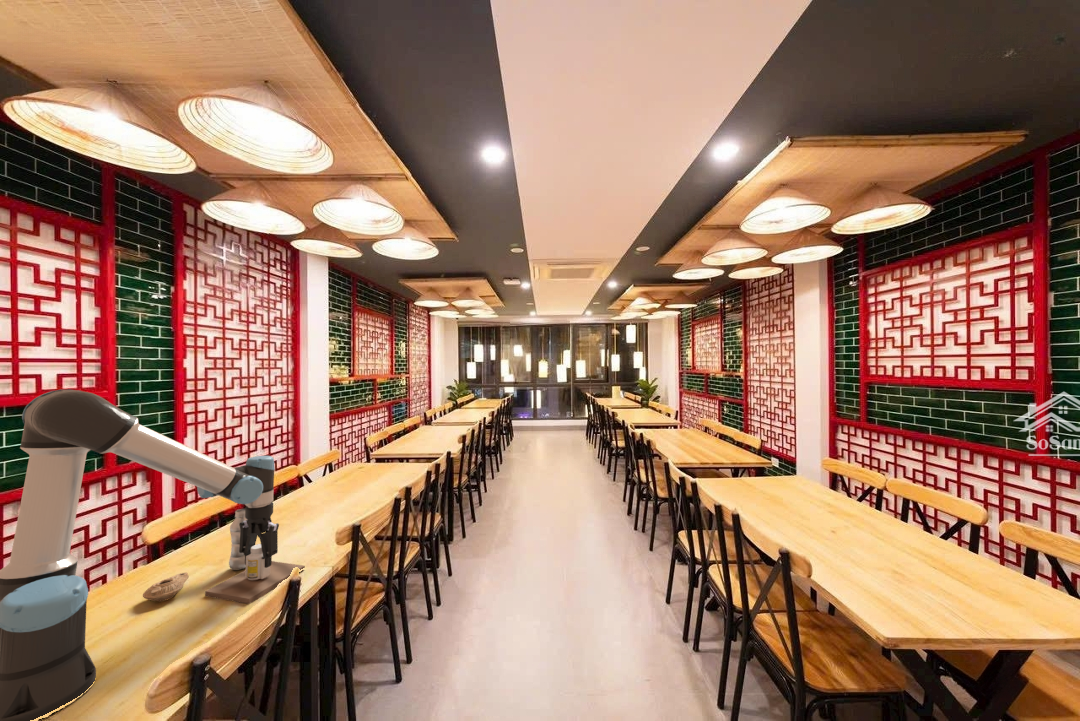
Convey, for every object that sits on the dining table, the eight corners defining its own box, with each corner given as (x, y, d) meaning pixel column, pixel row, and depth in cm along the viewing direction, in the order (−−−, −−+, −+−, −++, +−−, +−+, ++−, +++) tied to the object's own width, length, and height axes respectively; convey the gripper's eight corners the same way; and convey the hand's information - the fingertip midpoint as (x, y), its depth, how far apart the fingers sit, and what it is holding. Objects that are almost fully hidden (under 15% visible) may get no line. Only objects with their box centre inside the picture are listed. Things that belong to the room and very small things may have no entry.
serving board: (249, 603, 114) (249, 598, 114) (204, 596, 118) (205, 591, 118) (304, 570, 134) (304, 565, 134) (265, 564, 137) (265, 560, 137)
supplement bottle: (266, 570, 130) (267, 541, 130) (268, 576, 126) (269, 546, 126) (246, 575, 126) (247, 545, 126) (248, 582, 122) (248, 551, 122)
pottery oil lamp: (200, 581, 126) (202, 565, 124) (164, 615, 114) (165, 599, 112) (174, 572, 125) (175, 556, 123) (135, 606, 114) (135, 589, 112)
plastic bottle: (239, 573, 131) (241, 514, 132) (223, 571, 132) (225, 513, 133) (257, 564, 137) (258, 508, 138) (241, 562, 139) (242, 506, 139)
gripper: (292, 502, 128) (290, 573, 127) (248, 498, 132) (246, 566, 131) (272, 510, 121) (270, 585, 120) (225, 505, 125) (223, 578, 124)
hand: (257, 575), depth 126 cm, fingers closed on supplement bottle, 5 cm apart
